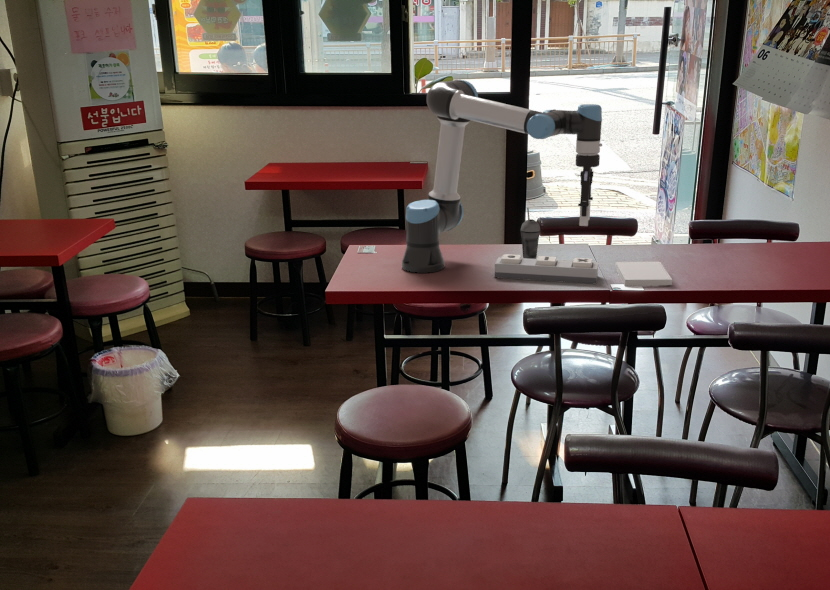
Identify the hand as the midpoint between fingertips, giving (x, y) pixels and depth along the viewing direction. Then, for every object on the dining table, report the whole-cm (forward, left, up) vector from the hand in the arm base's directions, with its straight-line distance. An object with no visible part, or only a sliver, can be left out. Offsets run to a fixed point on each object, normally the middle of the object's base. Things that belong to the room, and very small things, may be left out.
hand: (584, 222), depth 267 cm
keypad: (-12, 0, -19) cm, 23 cm away
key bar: (-12, 0, -15) cm, 20 cm away
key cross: (0, 0, -15) cm, 15 cm away
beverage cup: (-20, +19, -20) cm, 34 cm away
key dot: (-24, 0, -15) cm, 29 cm away
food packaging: (+20, +6, -20) cm, 29 cm away
